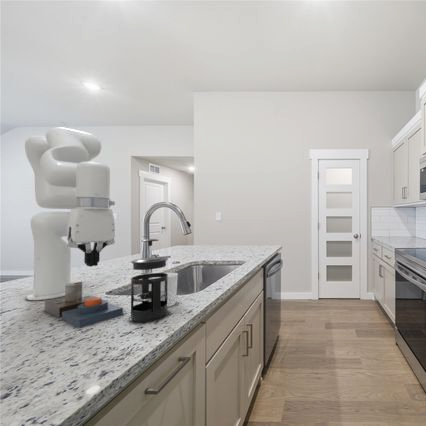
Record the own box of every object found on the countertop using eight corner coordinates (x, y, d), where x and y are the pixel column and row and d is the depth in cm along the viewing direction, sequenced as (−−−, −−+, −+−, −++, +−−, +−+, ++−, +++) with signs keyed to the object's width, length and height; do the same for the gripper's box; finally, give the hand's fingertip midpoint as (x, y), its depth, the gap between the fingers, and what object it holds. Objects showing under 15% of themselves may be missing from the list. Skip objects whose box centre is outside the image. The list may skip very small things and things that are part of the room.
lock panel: (44, 310, 80) (44, 300, 80) (85, 301, 88) (85, 292, 88) (59, 318, 74) (59, 307, 74) (101, 307, 83) (101, 297, 83)
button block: (61, 319, 73) (62, 305, 73) (104, 308, 82) (104, 295, 82) (79, 328, 67) (79, 313, 67) (123, 315, 76) (123, 301, 76)
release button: (82, 305, 74) (82, 299, 74) (98, 302, 77) (98, 296, 77) (88, 307, 72) (88, 301, 72) (103, 304, 75) (103, 298, 75)
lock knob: (67, 302, 78) (67, 285, 79) (62, 300, 80) (63, 283, 80) (84, 298, 82) (84, 282, 82) (79, 296, 84) (79, 280, 84)
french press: (125, 316, 75) (126, 239, 75) (161, 308, 82) (161, 237, 82) (136, 328, 67) (137, 241, 67) (175, 317, 74) (175, 239, 74)
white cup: (157, 310, 79) (157, 279, 79) (145, 306, 83) (145, 276, 84) (182, 303, 86) (182, 274, 86) (170, 299, 90) (170, 271, 90)
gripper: (116, 205, 84) (115, 260, 84) (53, 203, 71) (51, 268, 71) (128, 205, 80) (127, 262, 80) (63, 203, 67) (62, 272, 67)
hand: (91, 265), depth 75 cm, fingers closed
